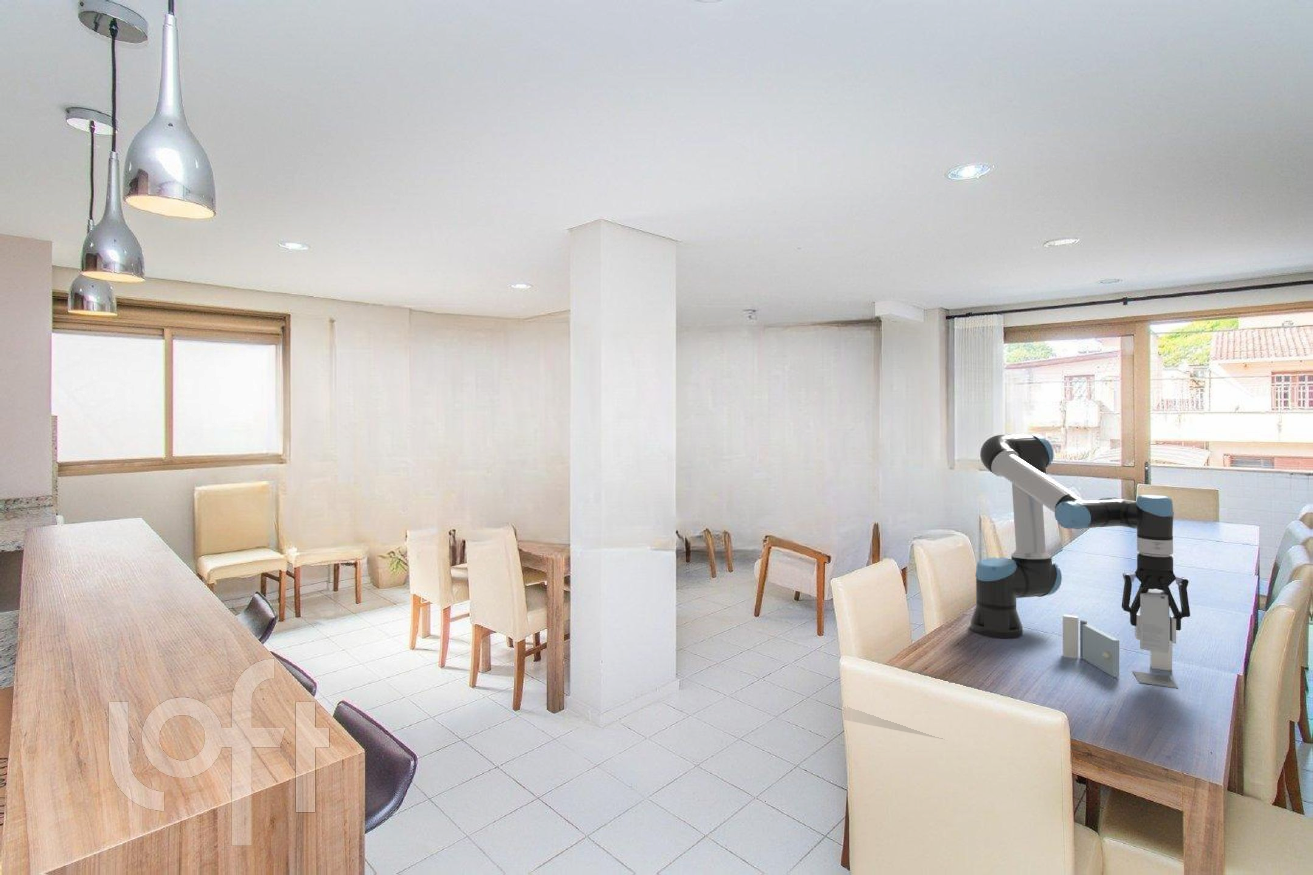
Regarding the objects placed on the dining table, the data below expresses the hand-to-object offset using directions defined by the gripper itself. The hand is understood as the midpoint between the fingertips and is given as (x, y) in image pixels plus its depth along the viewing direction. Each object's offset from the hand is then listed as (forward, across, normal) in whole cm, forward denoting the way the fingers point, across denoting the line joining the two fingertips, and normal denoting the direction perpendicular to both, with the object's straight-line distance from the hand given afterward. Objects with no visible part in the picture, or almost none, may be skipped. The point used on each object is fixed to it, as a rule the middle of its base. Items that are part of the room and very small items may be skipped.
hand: (1155, 639), depth 166 cm
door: (+11, -13, +4) cm, 17 cm away
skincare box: (+2, 0, 0) cm, 2 cm away
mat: (+11, 0, 0) cm, 11 cm away
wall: (+11, -7, +10) cm, 16 cm away
